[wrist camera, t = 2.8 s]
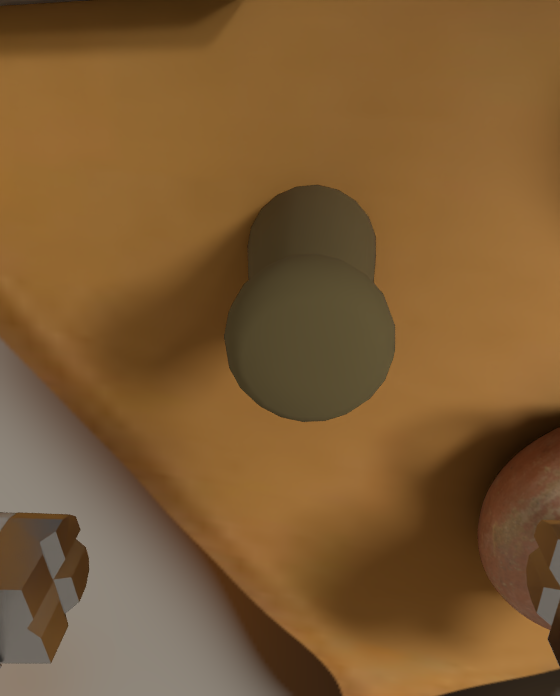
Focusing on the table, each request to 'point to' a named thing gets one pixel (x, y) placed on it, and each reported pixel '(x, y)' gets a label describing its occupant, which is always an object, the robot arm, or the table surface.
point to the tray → (32, 1)
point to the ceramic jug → (519, 519)
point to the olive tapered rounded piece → (310, 308)
